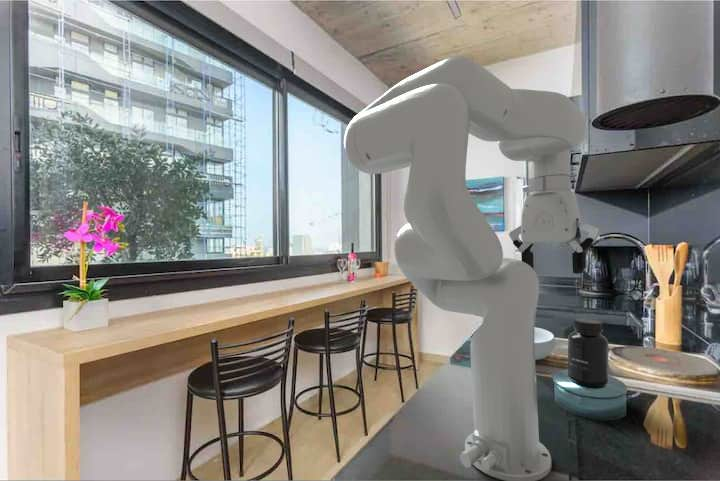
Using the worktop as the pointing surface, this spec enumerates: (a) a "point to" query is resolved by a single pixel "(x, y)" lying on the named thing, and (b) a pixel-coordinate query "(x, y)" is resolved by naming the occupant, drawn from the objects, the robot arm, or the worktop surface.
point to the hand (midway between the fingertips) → (552, 271)
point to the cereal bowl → (543, 343)
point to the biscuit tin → (591, 397)
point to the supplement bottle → (588, 353)
